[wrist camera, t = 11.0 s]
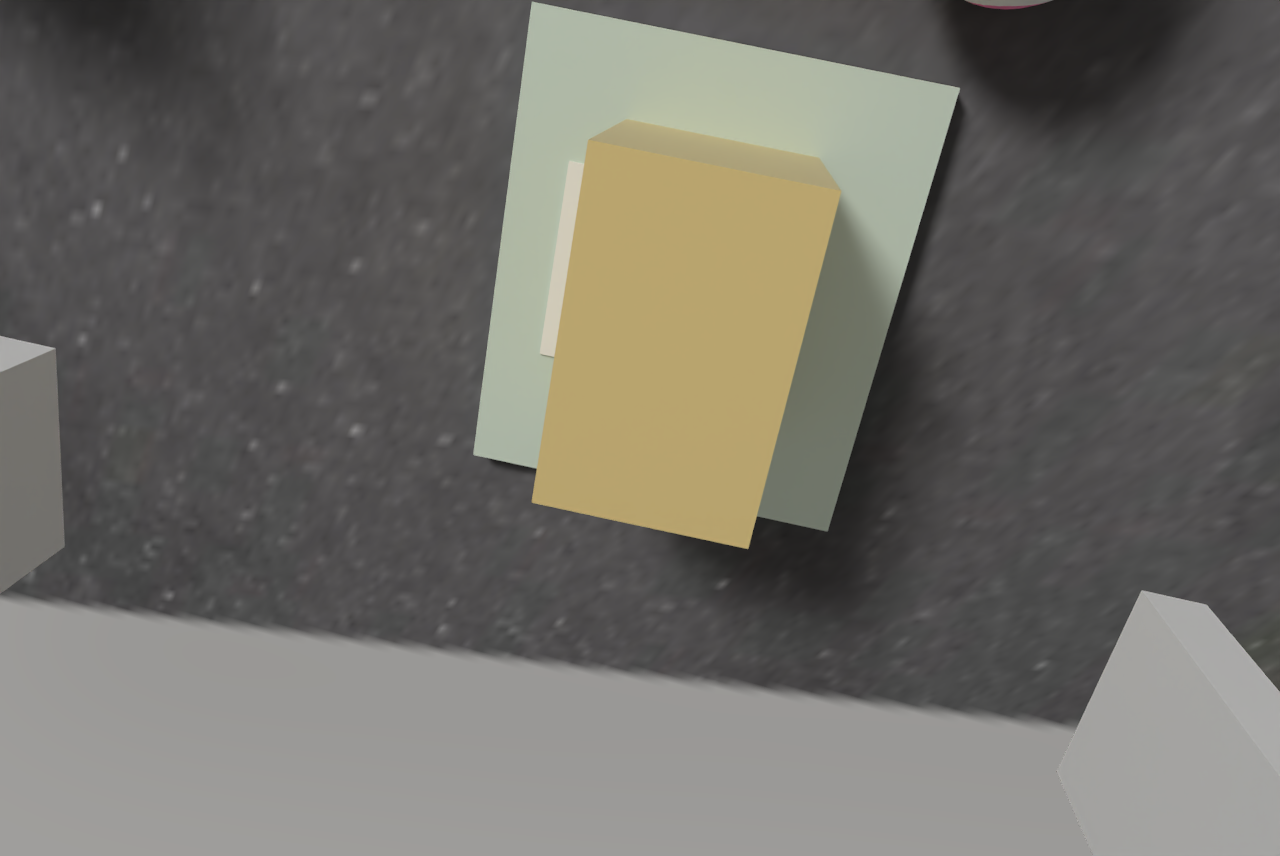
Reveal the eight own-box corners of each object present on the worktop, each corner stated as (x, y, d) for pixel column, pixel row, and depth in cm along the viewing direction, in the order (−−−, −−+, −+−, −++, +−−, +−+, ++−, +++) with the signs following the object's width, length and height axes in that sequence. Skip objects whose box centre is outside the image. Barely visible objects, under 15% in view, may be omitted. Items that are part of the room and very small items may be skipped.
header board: (479, 445, 32) (438, 505, 28) (538, 3, 27) (498, -7, 23) (825, 520, 32) (837, 592, 28) (954, 87, 27) (993, 93, 22)
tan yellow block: (577, 406, 30) (531, 502, 24) (626, 118, 27) (588, 139, 21) (748, 443, 30) (748, 549, 24) (819, 157, 27) (841, 190, 20)
